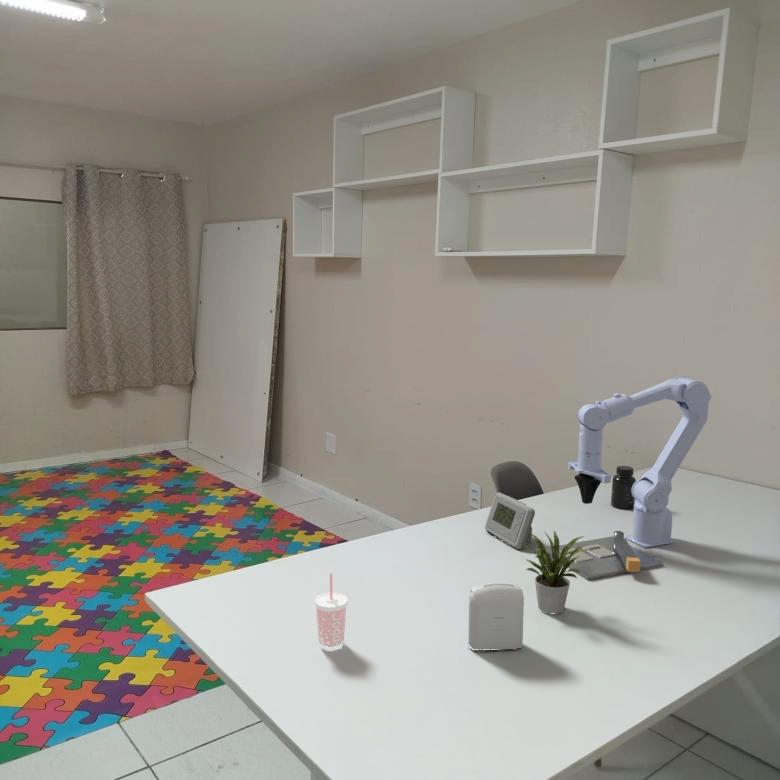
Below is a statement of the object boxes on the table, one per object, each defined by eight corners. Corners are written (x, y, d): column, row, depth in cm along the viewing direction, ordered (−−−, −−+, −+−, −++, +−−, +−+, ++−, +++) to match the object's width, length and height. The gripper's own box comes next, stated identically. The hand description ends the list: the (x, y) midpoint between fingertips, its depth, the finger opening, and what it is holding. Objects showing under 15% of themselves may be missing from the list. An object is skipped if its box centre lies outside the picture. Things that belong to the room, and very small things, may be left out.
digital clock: (482, 530, 193) (483, 492, 191) (513, 527, 195) (514, 490, 194) (506, 552, 178) (507, 511, 176) (539, 549, 180) (541, 509, 178)
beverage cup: (318, 655, 129) (317, 582, 126) (312, 639, 134) (311, 569, 132) (351, 651, 130) (351, 579, 128) (343, 635, 136) (343, 565, 134)
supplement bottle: (605, 504, 216) (608, 465, 214) (623, 501, 219) (625, 463, 217) (621, 511, 210) (624, 471, 208) (639, 508, 212) (642, 469, 211)
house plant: (600, 604, 150) (605, 530, 147) (582, 632, 138) (587, 552, 135) (535, 588, 157) (538, 518, 154) (512, 614, 145) (515, 537, 143)
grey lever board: (611, 540, 186) (612, 521, 186) (662, 565, 170) (663, 545, 169) (541, 552, 178) (542, 533, 177) (588, 580, 162) (589, 559, 161)
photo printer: (470, 653, 130) (472, 590, 128) (465, 641, 134) (467, 580, 132) (525, 651, 131) (528, 588, 129) (518, 639, 135) (521, 578, 133)
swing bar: (614, 548, 176) (615, 538, 176) (625, 548, 176) (625, 538, 176) (627, 571, 162) (628, 560, 162) (639, 572, 162) (640, 561, 162)
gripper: (559, 446, 187) (557, 496, 189) (596, 459, 174) (593, 513, 176) (581, 444, 189) (578, 493, 192) (618, 457, 176) (615, 509, 178)
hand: (587, 502), depth 184 cm, fingers closed
